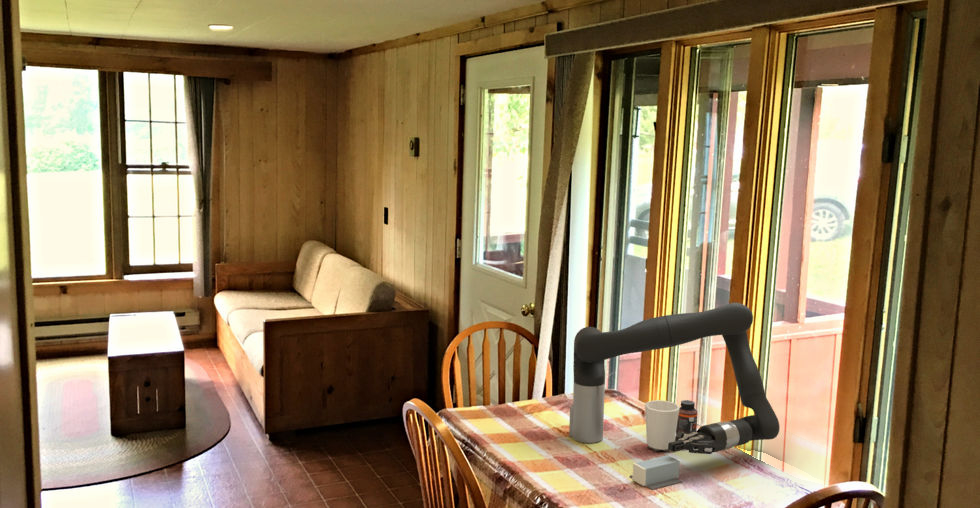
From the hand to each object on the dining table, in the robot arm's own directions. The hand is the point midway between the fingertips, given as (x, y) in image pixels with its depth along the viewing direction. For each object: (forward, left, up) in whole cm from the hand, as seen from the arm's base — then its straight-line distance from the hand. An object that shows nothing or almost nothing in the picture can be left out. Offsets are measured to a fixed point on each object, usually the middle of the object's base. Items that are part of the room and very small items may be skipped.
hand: (670, 447), depth 215 cm
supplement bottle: (-10, +29, -8) cm, 31 cm away
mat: (-2, -4, -8) cm, 9 cm away
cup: (-12, +17, -8) cm, 22 cm away
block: (+1, +1, -5) cm, 6 cm away
